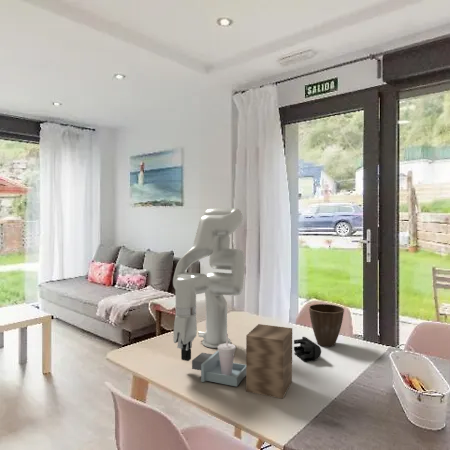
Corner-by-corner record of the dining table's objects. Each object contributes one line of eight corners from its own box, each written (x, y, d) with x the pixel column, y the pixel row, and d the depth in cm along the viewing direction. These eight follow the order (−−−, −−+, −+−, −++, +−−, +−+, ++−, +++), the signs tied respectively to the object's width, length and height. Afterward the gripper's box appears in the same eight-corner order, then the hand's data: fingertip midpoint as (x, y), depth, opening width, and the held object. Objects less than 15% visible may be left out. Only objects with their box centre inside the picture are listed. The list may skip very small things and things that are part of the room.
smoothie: (238, 371, 135) (237, 332, 134) (232, 378, 129) (232, 338, 128) (221, 368, 137) (221, 330, 137) (215, 376, 131) (214, 336, 130)
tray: (188, 379, 131) (188, 362, 131) (205, 364, 144) (205, 348, 143) (235, 388, 124) (235, 370, 124) (248, 371, 137) (248, 355, 136)
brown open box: (246, 391, 123) (246, 335, 122) (258, 375, 135) (258, 324, 134) (282, 398, 118) (283, 340, 118) (292, 381, 130) (292, 328, 130)
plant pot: (304, 338, 173) (304, 304, 172) (335, 337, 174) (336, 303, 174) (315, 350, 158) (315, 313, 158) (349, 349, 160) (349, 312, 159)
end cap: (321, 360, 148) (321, 344, 148) (305, 363, 146) (305, 345, 146) (308, 351, 157) (308, 335, 157) (293, 353, 155) (293, 337, 155)
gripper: (186, 304, 146) (187, 351, 147) (166, 314, 133) (166, 365, 133) (204, 306, 143) (204, 354, 144) (185, 317, 130) (185, 369, 130)
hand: (186, 359), depth 139 cm, fingers closed
